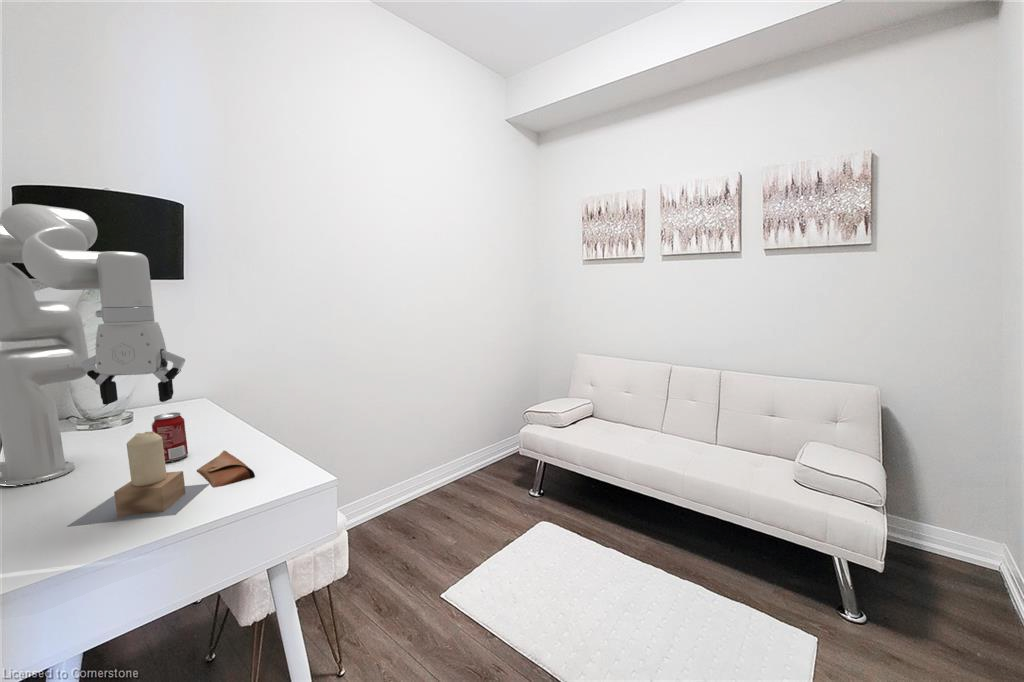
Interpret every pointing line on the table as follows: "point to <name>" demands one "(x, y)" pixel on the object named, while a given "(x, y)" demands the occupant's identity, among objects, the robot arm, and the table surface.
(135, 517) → the mat
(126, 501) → the block
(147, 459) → the candle
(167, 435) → the soda can
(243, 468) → the sunglasses case
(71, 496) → the table surface
